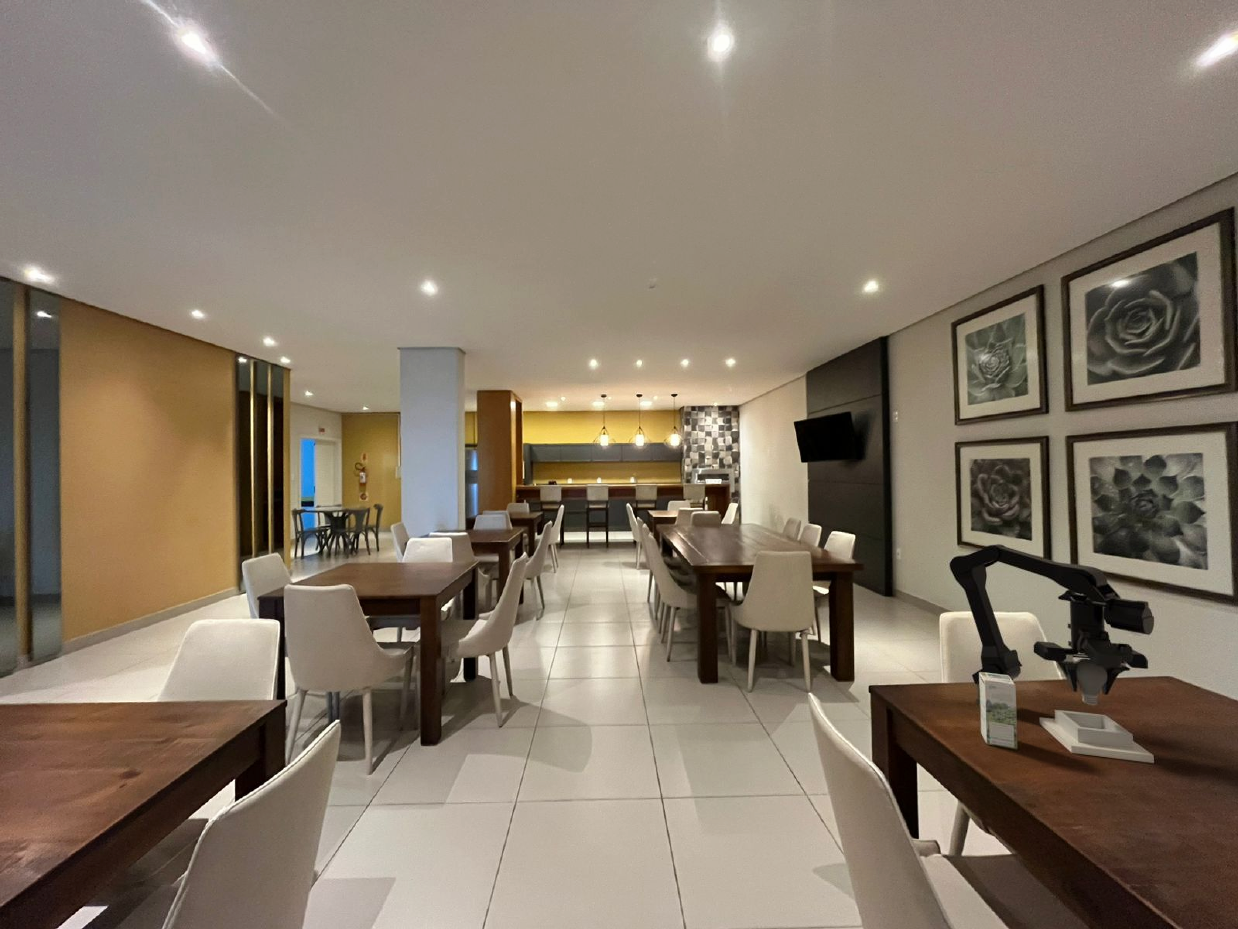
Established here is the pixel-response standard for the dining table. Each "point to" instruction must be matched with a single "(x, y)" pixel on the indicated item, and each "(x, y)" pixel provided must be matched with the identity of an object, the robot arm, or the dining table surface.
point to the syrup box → (998, 710)
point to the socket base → (1094, 736)
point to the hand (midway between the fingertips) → (1089, 692)
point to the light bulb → (1090, 680)
